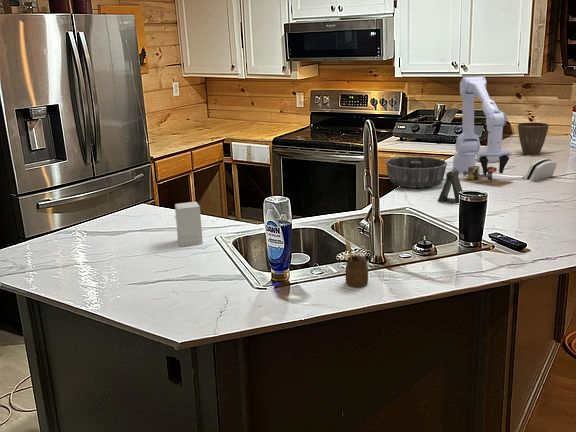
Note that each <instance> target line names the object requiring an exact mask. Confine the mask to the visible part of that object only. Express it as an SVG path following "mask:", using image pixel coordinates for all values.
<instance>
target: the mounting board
mask: <svg viewBox="0 0 576 432" xmlns="http://www.w3.org/2000/svg"><path fill="white" fill-rule="evenodd" d="M479 178H481V179H479V180H476V181H469V180H465V179H468V176H467V177H463V178H461V179H460V178H459V181H460V182H466V183H470V184H478V185H482V186H489V187H496V188H502V187H504V186H507V185H508V186H509V185H511V184H513V183H515V181H511V180H510V181H509V180H502V179H496V178H492V180H488V178H486V177H480V176H479Z"/></svg>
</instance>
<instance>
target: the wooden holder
mask: <svg viewBox="0 0 576 432" xmlns="http://www.w3.org/2000/svg"><path fill="white" fill-rule="evenodd" d="M474 173H480V166H479V165H475V166H471V167H468V175H467V177H468V179H465V180H469V181H476V180H479V179H481V178H479V177H480V176H474Z"/></svg>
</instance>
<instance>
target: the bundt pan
mask: <svg viewBox="0 0 576 432" xmlns="http://www.w3.org/2000/svg"><path fill="white" fill-rule="evenodd" d="M447 162H448V161H446V160H443V159H441V158H436V157H432V156H431V157H430V156H420V155H419V156H409V155H408V156H397V157H392V158H389V159H388V160H385V165H386V170H387V178H388V179H389V181H390V182H391V183H393V184H394V185H395V186H397V187H403V188H408V187H410V188H411V189H413V188H418V189H421V188H426V189H427V188H430V187H435V186H437V185H438V184H440V183H442V182H443V180H444V178H445V173H446V168H447V166H448V163H447Z"/></svg>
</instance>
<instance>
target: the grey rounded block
mask: <svg viewBox="0 0 576 432" xmlns="http://www.w3.org/2000/svg"><path fill="white" fill-rule="evenodd" d="M556 168H557V162H556V161H555V160H552V159H550V158H541V159H538V160H536V161H534V162H533V163H531V164H530V166H529V168H528V170H527V172H526V174H525V175H523V176H522V178H521V179H524V180H530V181H529V182H530V183H532V182H536V181H539V180H544V179H547V178H551V177H553V175H554V173H555V170H556Z"/></svg>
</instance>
